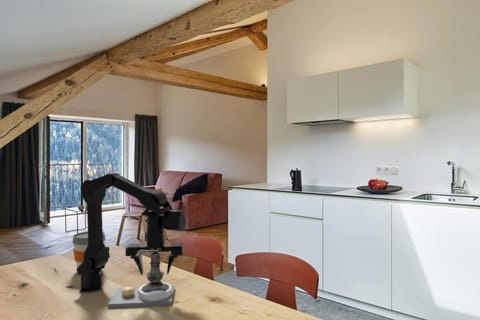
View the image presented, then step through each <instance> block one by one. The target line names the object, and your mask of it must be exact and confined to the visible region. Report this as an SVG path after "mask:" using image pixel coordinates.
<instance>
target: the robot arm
mask: <svg viewBox="0 0 480 320" xmlns="http://www.w3.org/2000/svg"><path fill="white" fill-rule="evenodd" d="M111 187H113V188H116V189H118V190H120V191H121V192H123V193H125V194H127V195H129V196H131V197H132V198H135V199H136V200H137V201H138V202H139V203H140V205H142V206H143V207H144V208H145V209H144V211H142V212H141V213H140V216H143V217H146V232H144V241H145V242H146V245H145V246H142V245H141V243H129V245H127V246H126V248H125V255H124V256H126V257H130V259H131V260H132V259H133V260H134V262H135V264H136V265H137V268H138V271H139V273H140V275H141V276H143V274H144V266H143V265H144V264H143V253H153V252H158V253H169V256H168V261H167V269H166V274H167V275H169V273H170V271H171V268H172V263H174V260H175V259H176V258H178V257H179V256H183V255H184V244H183V243H182V242H172V243H171V245H166V237H165V231H174V232H175V231H176V232H184V231H185V229H186V226H187V217H186V215H185V212H184V210H183V209H180V210H174V209H173V207H172V205H171V204H170V202H169V200H168V198H167V194H166V193H165V192H164V191H160V190H157V189H154V188H153V189H152V188H147V187H144V186H142V185H141V184H138V183H136V182H134V181H133V180H131V179H128V178H127V177H124V176H122V175H121V174H120V173H118V172H110V173H109V172H108V173H106V174H105V175H102V176H100V177H96V178H92V179H91V178H90V179H86V180H84V181H83V182H81V185H80V192H81V198H82V199H83V201H84V202H85V204H86V216H87V217H86V218H87V222H86V223H87V232H88V246H87V248H86V250H85V252H84V258H83V263H82V264H81V265H80V266H79V267H78V268H77V267H76V269H75V270H76V272H77V275H78V276H80V288H79V290H78V291H79V293H81V292H85V293H86V292H99V290H100V289H101V288H102V287H103V286H104V274H103V271H102V269H105V267H106V264H107V263H108V262H109V259H110V258H111V256H110V246H106V245H105V242H104V243H103V232H104V231H103V207H102V206H103V201H104V199H105V197H106V194H107V189H110V188H111Z"/></svg>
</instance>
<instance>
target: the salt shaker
mask: <svg viewBox="0 0 480 320" xmlns="http://www.w3.org/2000/svg"><path fill="white" fill-rule="evenodd" d="M160 257H161V256H160V252H151V254H150V262H149V265H150V271H149V272H147V273H146V275H145V276H146V277H147V278H146V279H147V280H148V281H149V282H148V283H146V284H147V286H148V287H152V288H155V287H160V286H162V285H163V283H162V282H163V281H162V279H163V278H164V275H165V273H164V271H161V269H160V268H161V267H160V266H161V264H162V262H161V260H160Z"/></svg>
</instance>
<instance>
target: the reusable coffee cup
mask: <svg viewBox="0 0 480 320" xmlns="http://www.w3.org/2000/svg"><path fill="white" fill-rule="evenodd" d="M105 242H106V235H105V232H104V231H103V243H104V244H105ZM72 244H73V249H72V250H73V256H74V257H73V258H74V261H75V263H76V269H77V268H78V267H79V266H80V265H81V264H82V263H83V258H84V252H85V250H86V248H87V246H88V231H82V232H78V233H75V234H73V236H72Z"/></svg>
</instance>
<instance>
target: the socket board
mask: <svg viewBox="0 0 480 320" xmlns="http://www.w3.org/2000/svg"><path fill="white" fill-rule="evenodd" d="M161 282H162V283H163V285H162V286H160V287H155V288H152V287H148V286H147V284H148V283H145V284H143V285H141V286H134V287H133V286H126V287H117V288H116V290H115V291H114V293H113V294H112V297H111V299H110V300H109V301H108V303H107V308H109V309H111V308H114V309H115V308H133V307H134V308H135V307H137V308H138V307H157V306H172V305H173V299H174V296H175V295H174V294H175V290H176V289H175V288H176V286H175V285H171V284H170V283H169V282H163V281H161Z"/></svg>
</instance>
